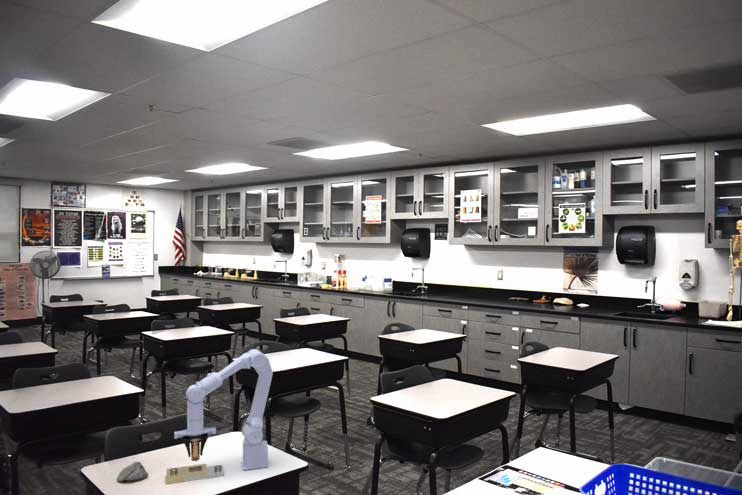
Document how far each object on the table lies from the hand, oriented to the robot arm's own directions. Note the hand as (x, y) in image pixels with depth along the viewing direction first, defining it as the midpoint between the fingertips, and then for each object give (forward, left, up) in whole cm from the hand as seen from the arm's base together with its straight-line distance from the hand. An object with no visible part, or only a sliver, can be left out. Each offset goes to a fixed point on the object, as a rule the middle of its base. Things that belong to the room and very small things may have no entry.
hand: (195, 455), depth 196 cm
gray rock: (+21, -7, -8) cm, 24 cm away
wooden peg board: (0, 0, -8) cm, 8 cm away
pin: (0, -1, -2) cm, 2 cm away
